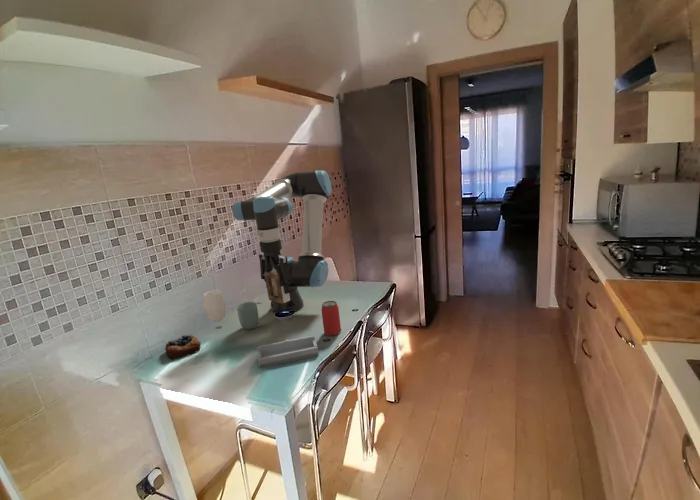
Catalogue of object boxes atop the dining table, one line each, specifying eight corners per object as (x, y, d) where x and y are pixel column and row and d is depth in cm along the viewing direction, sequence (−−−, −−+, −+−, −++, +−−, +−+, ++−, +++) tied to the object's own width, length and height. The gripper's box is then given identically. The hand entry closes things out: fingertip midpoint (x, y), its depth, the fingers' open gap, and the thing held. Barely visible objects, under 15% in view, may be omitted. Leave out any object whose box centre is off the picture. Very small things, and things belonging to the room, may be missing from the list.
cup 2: (263, 324, 157) (260, 302, 155) (251, 332, 151) (247, 309, 148) (249, 322, 161) (245, 301, 158) (236, 330, 154) (232, 308, 151)
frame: (268, 299, 139) (264, 272, 137) (276, 296, 142) (272, 269, 139) (282, 303, 134) (277, 275, 131) (289, 300, 137) (285, 272, 134)
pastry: (164, 351, 142) (160, 337, 141) (196, 340, 149) (193, 327, 147) (170, 362, 133) (166, 348, 132) (204, 350, 140) (201, 336, 139)
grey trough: (259, 368, 123) (257, 355, 122) (259, 357, 130) (257, 345, 129) (318, 355, 127) (317, 342, 126) (315, 346, 134) (313, 334, 133)
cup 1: (221, 337, 149) (211, 288, 144) (236, 339, 146) (226, 289, 141) (208, 346, 142) (198, 295, 137) (223, 348, 140) (213, 296, 135)
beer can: (328, 338, 139) (324, 308, 137) (321, 331, 145) (318, 303, 142) (344, 332, 142) (340, 303, 139) (336, 326, 148) (333, 298, 145)
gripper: (244, 240, 136) (254, 297, 142) (279, 244, 123) (289, 308, 128) (261, 235, 142) (270, 291, 147) (297, 239, 128) (305, 300, 134)
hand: (279, 299), depth 138 cm, fingers closed on frame, 8 cm apart
